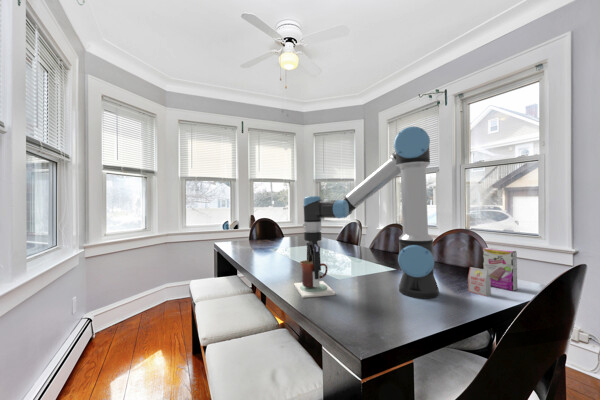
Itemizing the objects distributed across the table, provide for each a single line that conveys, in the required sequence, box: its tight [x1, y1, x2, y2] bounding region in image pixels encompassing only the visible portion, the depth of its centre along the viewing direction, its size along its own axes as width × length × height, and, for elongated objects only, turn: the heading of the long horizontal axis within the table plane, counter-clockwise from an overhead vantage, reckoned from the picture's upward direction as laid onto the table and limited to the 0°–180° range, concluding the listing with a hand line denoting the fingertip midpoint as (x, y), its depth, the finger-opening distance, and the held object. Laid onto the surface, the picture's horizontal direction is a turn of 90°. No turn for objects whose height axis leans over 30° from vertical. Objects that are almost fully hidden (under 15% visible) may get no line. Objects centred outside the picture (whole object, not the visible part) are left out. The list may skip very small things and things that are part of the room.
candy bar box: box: [482, 247, 518, 292], centre depth 116 cm, size 11×5×16 cm, turn 34°
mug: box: [299, 259, 329, 288], centre depth 116 cm, size 12×9×10 cm
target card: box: [293, 280, 337, 299], centre depth 116 cm, size 18×14×1 cm
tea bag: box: [467, 266, 492, 297], centre depth 108 cm, size 4×7×10 cm, turn 28°
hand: (313, 283), depth 116 cm, fingers closed on mug, 7 cm apart
